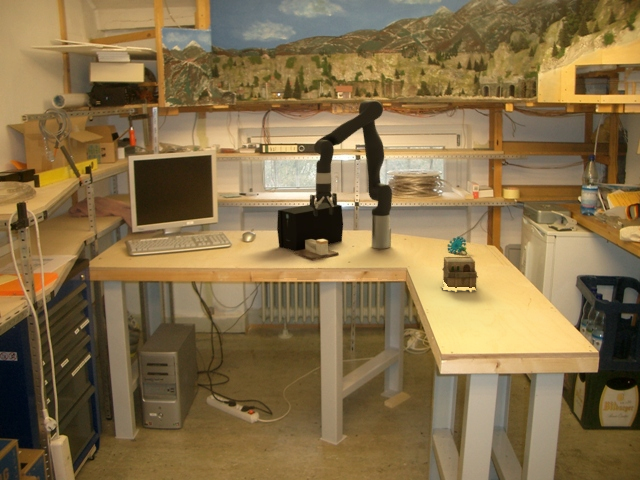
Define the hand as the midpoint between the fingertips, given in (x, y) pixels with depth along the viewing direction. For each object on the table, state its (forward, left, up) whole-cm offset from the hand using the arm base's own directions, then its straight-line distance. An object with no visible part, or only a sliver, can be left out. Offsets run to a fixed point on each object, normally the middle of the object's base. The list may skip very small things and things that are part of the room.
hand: (323, 215), depth 297 cm
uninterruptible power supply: (-9, -25, -21) cm, 34 cm away
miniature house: (-17, +73, -21) cm, 78 cm away
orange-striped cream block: (+1, 0, -19) cm, 19 cm away
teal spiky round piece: (-57, +34, -21) cm, 70 cm away
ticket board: (+1, -6, -21) cm, 22 cm away
